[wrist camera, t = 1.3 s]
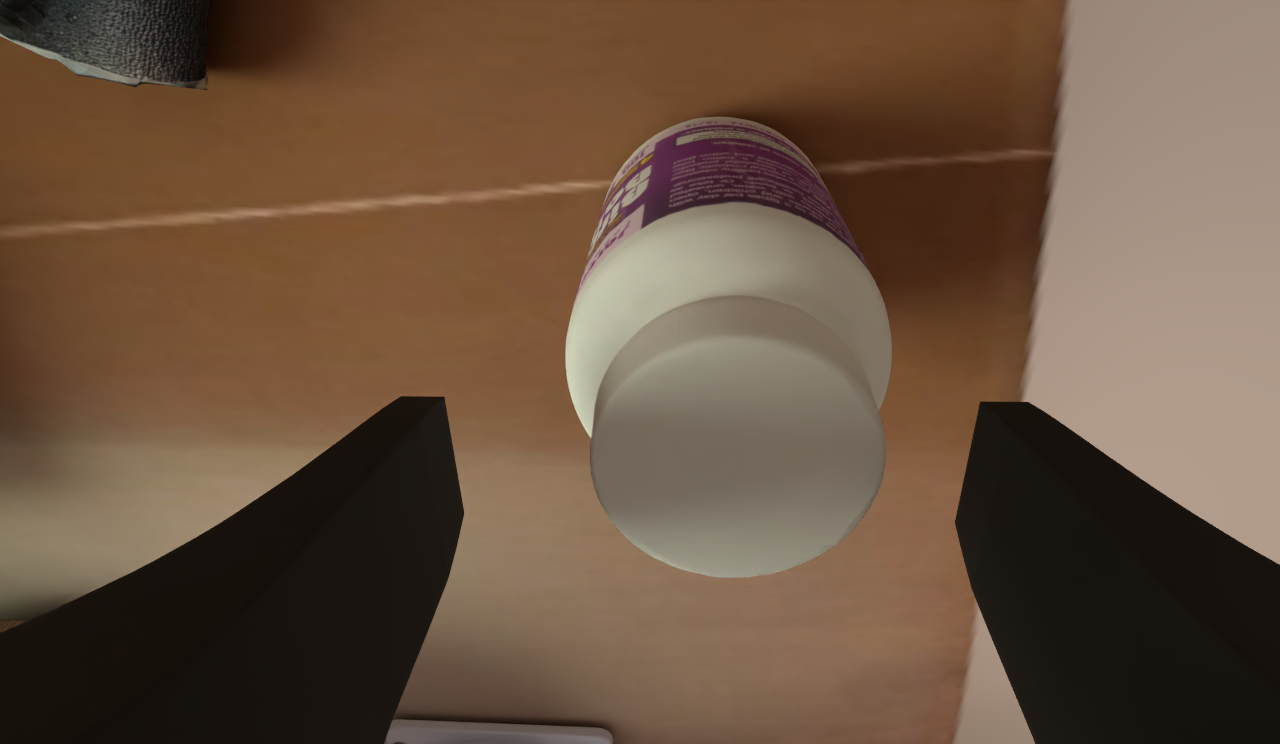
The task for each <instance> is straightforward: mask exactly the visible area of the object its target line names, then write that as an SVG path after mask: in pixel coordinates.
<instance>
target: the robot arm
mask: <svg viewBox="0 0 1280 744" xmlns="http://www.w3.org/2000/svg"><path fill="white" fill-rule="evenodd" d="M463 516H464V509H463V503H462V497H461V491H460V486H459V480H458V474H457V468H456V463H455V457H454V451H453V445H452V439H451V434H450V428H449V422H448V416H447V410H446V405H445V399H444V397H412V396H401V397H399V398H398V399H396V400H395V401H393V402H392V403H390V404H389V405H387V406H386V407H384V408H383V409H381V410H380V411H379V412H377V413H376V414H374V415H373V416H372V417H370V418H369V419H368V420H366V421H365V422H364V423H362V424H361V425H360V426H358V427H357V428H356V429H354V430H353V431H352V432H350V433H349V434H348V435H346V436H345V437H344V438H342V439H341V440H340V441H338V442H337V443H336V444H334V445H333V446H331V447H330V448H329V449H327V450H326V451H325V452H323V453H322V454H321V455H319V456H318V457H317V458H315V459H314V460H312V461H311V462H310V463H308V464H307V465H306V466H304V467H303V468H302V469H300V470H299V471H297V472H296V473H295V474H293V475H292V476H290V477H289V478H287V479H286V480H284V481H283V482H281V483H280V484H278V485H277V486H275V487H274V488H272V489H271V490H269V491H268V492H266V493H265V494H263V495H262V496H260V497H259V498H258V499H256V500H255V501H253V502H252V503H250V504H249V505H247V506H246V507H244V508H243V509H241V510H240V511H238V512H237V513H235V514H234V515H232V516H231V517H229V518H227V519H226V520H224V521H223V522H221V523H219V524H218V525H216V526H215V527H213V528H211V529H209V530H208V531H206V532H204V533H203V534H201V535H199V536H198V537H196V538H194V539H193V540H191V541H189V542H187V543H185V544H184V545H182V546H180V547H178V548H176V549H175V550H173V551H171V552H169V553H167V554H166V555H164V556H162V557H160V558H159V559H157V560H155V561H153V562H151V563H149V564H147V565H145V566H144V567H142V568H140V569H138V570H136V571H134V572H132V573H130V574H128V575H126V576H123V577H121V578H119V579H117V580H115V581H113V582H111V583H109V584H107V585H105V586H103V587H101V588H98V589H96V590H94V591H92V592H90V593H88V594H86V595H84V596H82V597H80V598H78V599H76V600H74V601H71V602H69V603H67V604H65V605H63V606H61V607H59V608H57V609H55V610H52V611H50V612H48V613H46V614H43V615H41V616H39V617H36V618H34V619H32V620H29V621H27V622H25V623H22V624H20V625H17V626H15V627H13V628H10V629H8V630H6V631H3V632H1V633H0V744H384V743H385V740H386V744H613V737H612V734H611V733H610V732H609V731H608V730H605V729H603V728H597V727H573V726H549V725H525V724H501V723H477V722H453V721H429V720H405V719H397V720H393V717H394V715H395V712H396V710H397V707H398V705H399V702H400V700H401V697H402V695H403V692H404V689H405V687H406V684H407V682H408V679H409V677H410V674H411V672H412V669H413V667H414V664H415V662H416V659H417V657H418V654H419V652H420V649H421V647H422V644H423V642H424V639H425V637H426V634H427V632H428V629H429V627H430V624H431V622H432V619H433V617H434V614H435V611H436V609H437V606H438V604H439V601H440V599H441V596H442V593H443V591H444V588H445V585H446V583H447V580H448V577H449V574H450V570H451V567H452V563H453V559H454V555H455V551H456V547H457V543H458V538H459V534H460V529H461V525H462V521H463ZM955 524H956V529H957V533H958V537H959V541H960V545H961V549H962V554H963V558H964V562H965V565H966V569H967V573H968V576H969V580H970V584H971V587H972V590H973V593H974V595H975V598H976V601H977V603H978V606H979V608H980V611H981V613H982V615H983V618H984V620H985V623H986V625H987V628H988V630H989V633H990V635H991V637H992V640H993V642H994V645H995V647H996V649H997V652H998V655H999V657H1000V659H1001V662H1002V664H1003V666H1004V669H1005V671H1006V674H1007V676H1008V679H1009V681H1010V683H1011V686H1012V688H1013V691H1014V693H1015V695H1016V698H1017V700H1018V702H1019V705H1020V707H1021V710H1022V712H1023V715H1024V717H1025V719H1026V722H1027V724H1028V727H1029V729H1030V731H1031V734H1032V736H1033V738H1034V741H1035V744H1280V565H1279V564H1277V563H1275V562H1274V561H1272V560H1270V559H1268V558H1267V557H1265V556H1263V555H1261V554H1259V553H1258V552H1256V551H1254V550H1253V549H1251V548H1249V547H1247V546H1246V545H1244V544H1242V543H1240V542H1239V541H1237V540H1235V539H1234V538H1232V537H1231V536H1229V535H1227V534H1226V533H1224V532H1223V531H1221V530H1219V529H1218V528H1216V527H1214V526H1213V525H1211V524H1209V523H1208V522H1206V521H1205V520H1203V519H1201V518H1200V517H1198V516H1197V515H1195V514H1193V513H1192V512H1190V511H1188V510H1187V509H1185V508H1184V507H1182V506H1181V505H1179V504H1178V503H1176V502H1175V501H1173V500H1172V499H1170V498H1169V497H1167V496H1166V495H1164V494H1163V493H1161V492H1160V491H1158V490H1157V489H1155V488H1154V487H1152V486H1151V485H1149V484H1148V483H1146V482H1145V481H1143V480H1142V479H1140V478H1139V477H1137V476H1136V475H1135V474H1133V473H1132V472H1130V471H1129V470H1127V469H1126V468H1124V467H1123V466H1122V465H1120V464H1119V463H1117V462H1116V461H1114V460H1113V459H1111V458H1110V457H1108V456H1107V455H1106V454H1104V453H1103V452H1101V451H1100V450H1099V449H1097V448H1096V447H1094V446H1093V445H1092V444H1090V443H1089V442H1087V441H1086V440H1084V439H1083V438H1081V437H1080V436H1079V435H1077V434H1076V433H1075V432H1073V431H1072V430H1070V429H1069V428H1067V427H1066V426H1064V425H1063V424H1061V423H1060V422H1059V421H1057V420H1056V419H1054V418H1053V417H1051V416H1050V415H1048V414H1047V413H1045V412H1044V411H1042V410H1041V409H1039V408H1037V407H1036V406H1034V405H1032V404H1031V403H1029V402H980V405H979V410H978V415H977V420H976V425H975V429H974V434H973V439H972V444H971V448H970V453H969V458H968V463H967V467H966V472H965V477H964V482H963V487H962V491H961V496H960V501H959V506H958V510H957V515H956V520H955Z"/></svg>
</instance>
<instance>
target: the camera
mask: <svg viewBox="0 0 1280 744" xmlns="http://www.w3.org/2000/svg"><path fill="white" fill-rule="evenodd" d="M208 11H209V0H0V36H2V37H4V38H6V39H8V40H10V41H12V42H14V43H16V44H19V45H21V46H23V47H25V48H27V49H29V50H31V51H33V52H35V53H38V54H40V55H42V56H44V57H46V58H50V59H55V60H59V61H60V62H61V63H62V64H64V65H65V66H66V67H68V68H69V69H70V70H71V71H73V72H74V73H75V74H77V75H78V76H86V77H94V78H99V79H104V80H108V81H113V82H118V83H122V84H126V85H129V86H133V87H136V86H138V85H140V84H142V83H145V84H157V85H167V86H177V87H186V88H194V89H202V90H207V87H206V86H207V83H208V75H207V70H206V52H207V29H206V26H207V13H208Z"/></svg>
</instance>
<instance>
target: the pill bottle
mask: <svg viewBox="0 0 1280 744" xmlns="http://www.w3.org/2000/svg"><path fill="white" fill-rule="evenodd" d="M891 363H892V340H891V332H890V327H889V321H888V315H887V311H886V308H885V304H884V300H883V298H882V295H881V293H880V290H879V288H878V286H877V284H876V282H875V280H874V279H873V277H872V275H871V273H870V271H869V269H868V267H867V265H866V263H865V260H864V258H863V256H862V254H861V252H860V250H859V248H858V247H857V245H856V244H855V241H854V239H853V237H852V235H851V233H850V232H849V230H848V228H847V226H846V224H845V223H844V221H843V219H842V217H841V215H840V213H839V211H838V209H837V207H836V205H835V203H834V201H833V199H832V197H831V195H830V193H829V191H828V189H827V188H826V186H825V184H824V182H823V180H822V178H821V177H820V175H819V173H818V172H817V170H816V169H815V167H814V166H813V164H812V163H811V162H810V160H809V159H808V157H807V156H806V155H805V154H804V153H803V152H802V151H801V150H800V149H799V148H798V147H797V146H796V145H795V144H793V143H792V142H791V141H790V140H788V139H787V138H786V137H784V136H783V135H781V134H780V133H779V132H777V131H776V130H773V129H771V128H769V127H767V126H765V125H762V124H759V123H757V122H754V121H749V120H744V119H738V118H732V117H704V118H696V119H691V120H688V121H685V122H682V123H679V124H676V125H674V126H671V127H669V128H667V129H665V130H663V131H661V132H660V133H658V134H656V135H654V136H653V137H652V138H650V139H649V140H648V141H646V142H645V143H644V144H643V145H641V146H640V147H639V148H638V149H637V150H636V151H635V152H634V153H633V154H632V155H631V156H630V158H629V159H628V160H627V161H626V162H625V163H624V165H623V166H622V168H621V169H620V170H619V172H618V173H617V175H616V177H615V179H614V180H613V182H612V184H611V187H610V189H609V191H608V193H607V196H606V198H605V201H604V204H603V208H602V211H601V214H600V217H599V221H598V224H597V227H596V230H595V234H594V237H593V239H592V243H591V248H590V251H589V254H588V258H587V261H586V265H585V268H584V271H583V275H582V279H581V282H580V285H579V289H578V292H577V296H576V299H575V303H574V306H573V310H572V314H571V319H570V323H569V328H568V333H567V338H566V373H567V380H568V386H569V390H570V394H571V398H572V401H573V404H574V407H575V410H576V412H577V414H578V416H579V418H580V421H581V423H582V425H583V426H584V428H585V430H586V431H587V433H588V435H589V436H590V438H591V444H590V466H591V475H592V479H593V483H594V487H595V490H596V493H597V497H598V499H599V501H600V503H601V505H602V507H603V508H604V510H605V512H606V513H607V515H608V516H609V518H610V520H611V521H612V522H613V523H614V525H615V526H616V527H617V528H618V529H619V530H620V532H621V533H622V534H623V535H624V536H625V537H626V538H627V539H628V540H629V541H631V542H632V543H633V544H634V545H636V546H637V547H638V548H639V549H641V550H642V551H644V552H645V553H647V554H648V555H650V556H652V557H654V558H656V559H658V560H660V561H662V562H664V563H666V564H669V565H671V566H673V567H676V568H679V569H682V570H685V571H688V572H693V573H699V574H704V575H708V576H713V577H718V578H746V577H754V576H760V575H768V574H772V573H776V572H781V571H784V570H787V569H790V568H793V567H796V566H799V565H801V564H803V563H805V562H808V561H810V560H812V559H814V558H816V557H818V556H819V555H821V554H823V553H825V552H826V551H828V550H829V549H831V548H832V547H834V546H835V545H836V544H838V543H839V542H840V541H842V540H843V539H844V538H845V537H846V536H847V535H848V534H849V533H850V532H851V531H852V530H853V529H854V528H855V527H856V526H857V524H858V523H859V522H860V521H861V519H862V518H863V517H864V515H865V514H866V512H867V511H868V510H869V508H870V507H871V504H872V502H873V500H874V498H875V497H876V495H877V493H878V490H879V488H880V485H881V482H882V478H883V473H884V466H885V453H886V447H885V435H884V430H883V426H882V422H881V417H880V414H879V410H880V407H881V405H882V402H883V400H884V397H885V394H886V391H887V387H888V382H889V377H890V372H891Z"/></svg>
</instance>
